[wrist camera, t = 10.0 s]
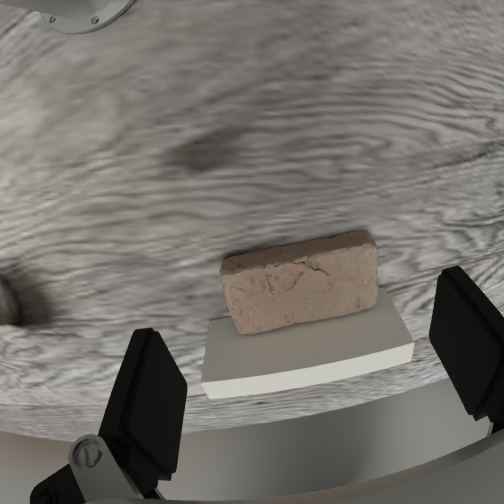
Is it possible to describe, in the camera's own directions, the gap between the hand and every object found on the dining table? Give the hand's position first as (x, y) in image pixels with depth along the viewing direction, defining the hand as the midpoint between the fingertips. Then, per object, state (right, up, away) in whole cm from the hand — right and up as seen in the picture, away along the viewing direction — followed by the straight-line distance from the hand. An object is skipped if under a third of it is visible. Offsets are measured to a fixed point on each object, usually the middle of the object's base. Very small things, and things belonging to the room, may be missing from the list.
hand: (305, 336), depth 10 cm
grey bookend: (+5, -7, +30) cm, 31 cm away
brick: (+4, +1, +27) cm, 27 cm away
